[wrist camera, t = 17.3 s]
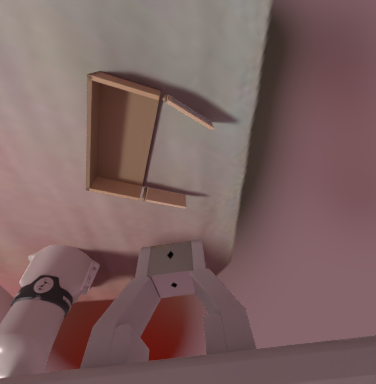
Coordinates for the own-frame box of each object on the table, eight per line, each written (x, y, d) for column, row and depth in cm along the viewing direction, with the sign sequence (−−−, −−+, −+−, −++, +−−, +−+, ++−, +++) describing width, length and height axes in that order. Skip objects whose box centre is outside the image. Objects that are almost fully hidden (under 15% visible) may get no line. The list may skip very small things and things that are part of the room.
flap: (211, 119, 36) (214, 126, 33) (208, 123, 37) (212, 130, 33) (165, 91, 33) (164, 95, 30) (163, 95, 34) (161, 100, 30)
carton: (142, 186, 45) (138, 200, 40) (94, 176, 43) (86, 190, 38) (161, 90, 34) (159, 96, 30) (98, 71, 32) (87, 74, 28)
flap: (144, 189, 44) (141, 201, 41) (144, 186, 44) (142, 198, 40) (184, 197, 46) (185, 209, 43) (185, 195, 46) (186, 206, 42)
